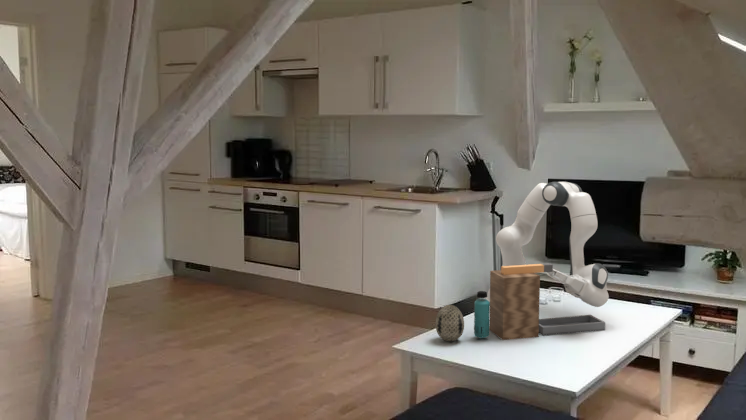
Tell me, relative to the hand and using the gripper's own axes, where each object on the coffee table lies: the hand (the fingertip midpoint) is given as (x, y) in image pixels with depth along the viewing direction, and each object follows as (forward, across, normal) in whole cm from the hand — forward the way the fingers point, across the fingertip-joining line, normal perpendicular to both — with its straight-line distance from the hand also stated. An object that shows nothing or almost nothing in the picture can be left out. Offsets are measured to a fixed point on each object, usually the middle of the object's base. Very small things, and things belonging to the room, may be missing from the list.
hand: (550, 270), depth 299 cm
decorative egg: (+26, +2, +46) cm, 53 cm away
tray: (-21, 0, +18) cm, 27 cm away
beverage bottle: (+14, +3, +39) cm, 42 cm away
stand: (+1, 0, +31) cm, 31 cm away
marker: (+9, 0, +6) cm, 11 cm away
